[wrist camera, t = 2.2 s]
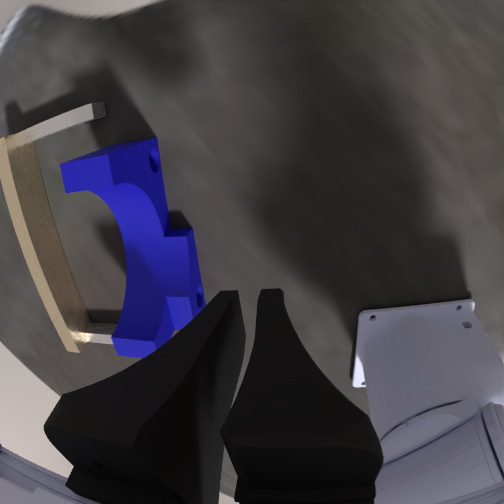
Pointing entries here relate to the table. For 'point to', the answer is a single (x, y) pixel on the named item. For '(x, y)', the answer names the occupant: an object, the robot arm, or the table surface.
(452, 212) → the table surface
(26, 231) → the frame
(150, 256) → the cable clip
